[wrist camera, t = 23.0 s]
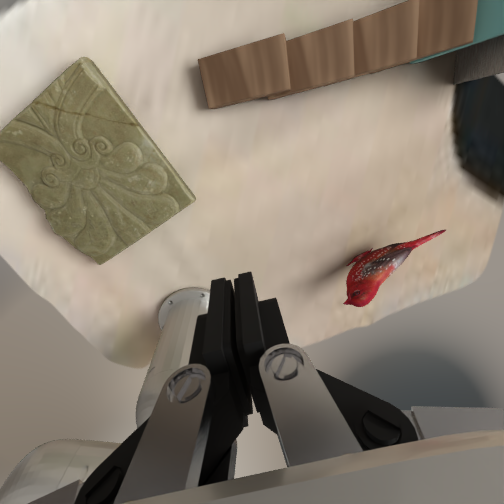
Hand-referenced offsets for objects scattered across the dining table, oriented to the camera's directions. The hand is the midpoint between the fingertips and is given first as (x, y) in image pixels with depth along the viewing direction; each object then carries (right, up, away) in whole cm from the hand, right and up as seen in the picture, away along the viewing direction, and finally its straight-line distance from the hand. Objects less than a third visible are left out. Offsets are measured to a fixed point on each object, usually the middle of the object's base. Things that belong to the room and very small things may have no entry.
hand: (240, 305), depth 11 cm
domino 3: (+9, +26, +21) cm, 34 cm away
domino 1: (-5, +23, +20) cm, 31 cm away
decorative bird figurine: (+20, +3, +33) cm, 39 cm away
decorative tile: (-21, +13, +25) cm, 35 cm away
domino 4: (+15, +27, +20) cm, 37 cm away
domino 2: (+2, +24, +21) cm, 32 cm away
